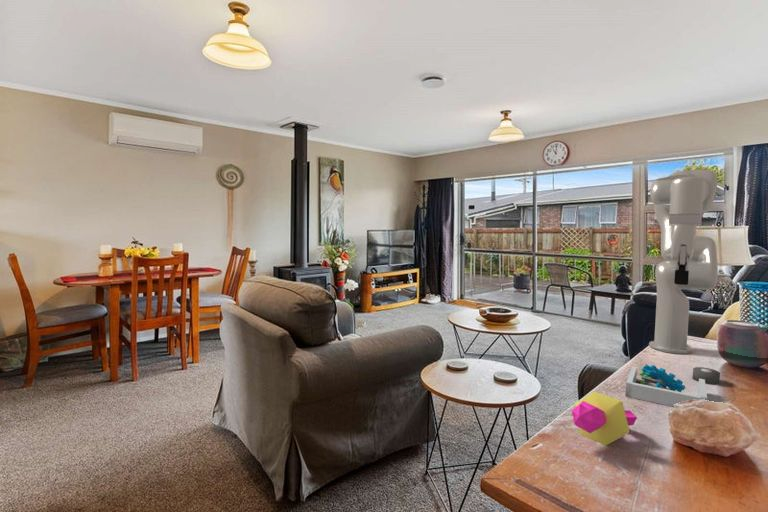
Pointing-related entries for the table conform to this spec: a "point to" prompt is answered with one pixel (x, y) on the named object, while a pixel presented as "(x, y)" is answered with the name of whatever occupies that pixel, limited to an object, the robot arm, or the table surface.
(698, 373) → the wheel
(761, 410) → the table surface
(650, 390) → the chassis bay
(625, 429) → the toy
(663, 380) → the gear
